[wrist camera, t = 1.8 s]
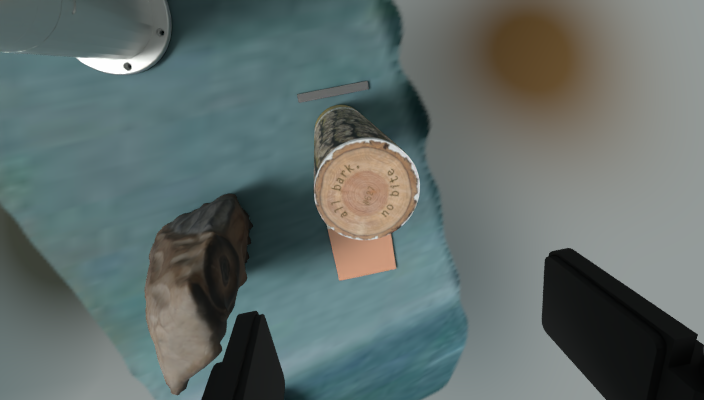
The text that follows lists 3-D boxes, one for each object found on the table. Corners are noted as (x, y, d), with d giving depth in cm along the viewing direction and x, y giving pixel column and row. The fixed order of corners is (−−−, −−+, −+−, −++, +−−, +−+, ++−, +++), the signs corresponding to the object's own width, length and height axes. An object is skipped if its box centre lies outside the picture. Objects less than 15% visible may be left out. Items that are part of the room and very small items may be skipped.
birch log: (308, 147, 45) (300, 226, 22) (323, 96, 43) (332, 123, 20) (356, 162, 46) (398, 250, 23) (372, 113, 44) (436, 157, 21)
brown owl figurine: (237, 183, 46) (184, 257, 27) (285, 254, 50) (268, 361, 32) (158, 224, 47) (54, 324, 28) (212, 291, 51) (153, 415, 33)
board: (297, 94, 43) (297, 94, 42) (367, 80, 43) (367, 81, 43) (339, 279, 53) (339, 280, 52) (395, 267, 53) (396, 268, 53)
